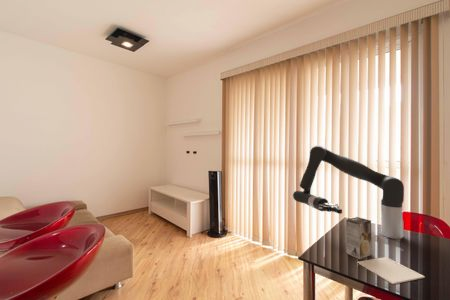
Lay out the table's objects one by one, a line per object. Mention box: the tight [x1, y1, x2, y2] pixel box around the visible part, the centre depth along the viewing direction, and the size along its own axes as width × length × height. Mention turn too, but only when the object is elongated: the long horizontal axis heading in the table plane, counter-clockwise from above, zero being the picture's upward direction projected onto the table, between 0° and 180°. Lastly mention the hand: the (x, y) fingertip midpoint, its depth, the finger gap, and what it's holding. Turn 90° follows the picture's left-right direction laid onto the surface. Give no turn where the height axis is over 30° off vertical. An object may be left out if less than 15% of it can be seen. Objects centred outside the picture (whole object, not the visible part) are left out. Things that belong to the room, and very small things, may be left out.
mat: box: [356, 256, 426, 285], centre depth 82 cm, size 16×14×1 cm
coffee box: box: [345, 216, 372, 260], centre depth 95 cm, size 9×6×16 cm
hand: (341, 211), depth 105 cm, fingers closed
